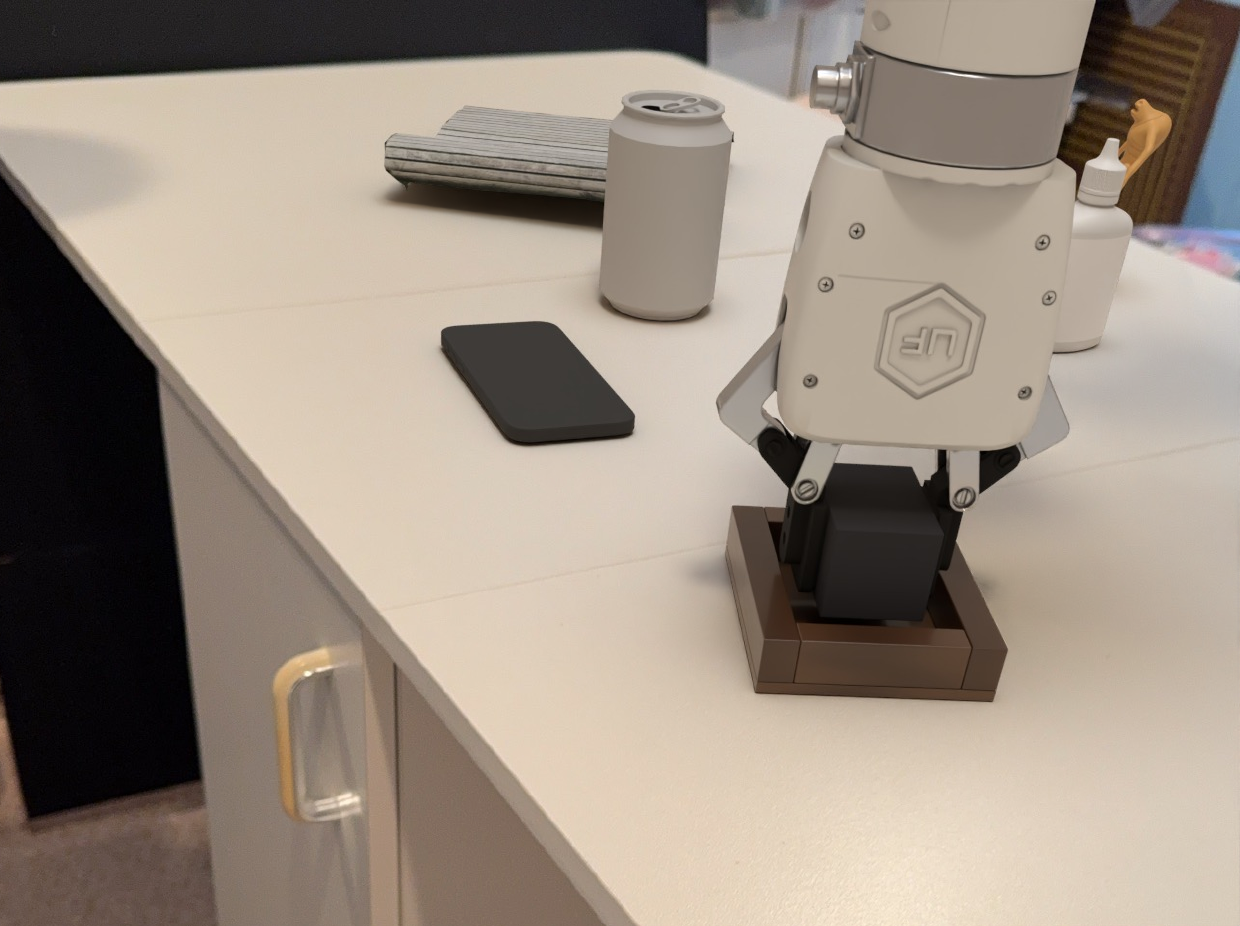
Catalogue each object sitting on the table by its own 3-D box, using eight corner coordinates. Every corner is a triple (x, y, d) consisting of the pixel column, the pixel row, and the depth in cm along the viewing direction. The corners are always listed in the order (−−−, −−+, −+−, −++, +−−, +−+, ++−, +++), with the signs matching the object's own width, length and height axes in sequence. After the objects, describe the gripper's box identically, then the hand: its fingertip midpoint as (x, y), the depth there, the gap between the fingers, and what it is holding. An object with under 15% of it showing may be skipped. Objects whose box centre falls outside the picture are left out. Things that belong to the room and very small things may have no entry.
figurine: (1036, 262, 106) (1083, 79, 98) (1119, 274, 105) (1173, 90, 98) (1036, 297, 100) (1086, 105, 92) (1124, 310, 99) (1183, 117, 91)
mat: (732, 165, 121) (740, 102, 118) (692, 248, 104) (699, 177, 101) (465, 131, 124) (466, 69, 121) (382, 207, 106) (379, 136, 103)
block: (797, 545, 65) (812, 461, 62) (893, 549, 65) (912, 466, 63) (819, 617, 60) (836, 529, 58) (923, 622, 60) (944, 534, 58)
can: (580, 289, 95) (591, 85, 87) (682, 281, 98) (702, 82, 90) (626, 329, 90) (643, 116, 82) (732, 320, 92) (758, 112, 85)
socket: (932, 563, 69) (944, 514, 67) (993, 701, 60) (1009, 649, 58) (724, 554, 68) (731, 504, 67) (755, 692, 59) (764, 639, 57)
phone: (510, 431, 75) (434, 326, 85) (509, 447, 75) (434, 340, 86) (643, 421, 77) (553, 319, 88) (641, 436, 78) (552, 333, 88)
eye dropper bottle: (1107, 359, 92) (1169, 153, 84) (1019, 351, 92) (1072, 144, 84) (1094, 335, 95) (1153, 135, 87) (1009, 327, 95) (1060, 126, 87)
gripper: (729, 123, 47) (672, 615, 59) (1226, 156, 48) (1072, 632, 60) (707, 72, 53) (659, 531, 65) (1153, 103, 54) (1025, 548, 66)
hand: (859, 575), depth 62 cm, fingers closed on block, 4 cm apart
